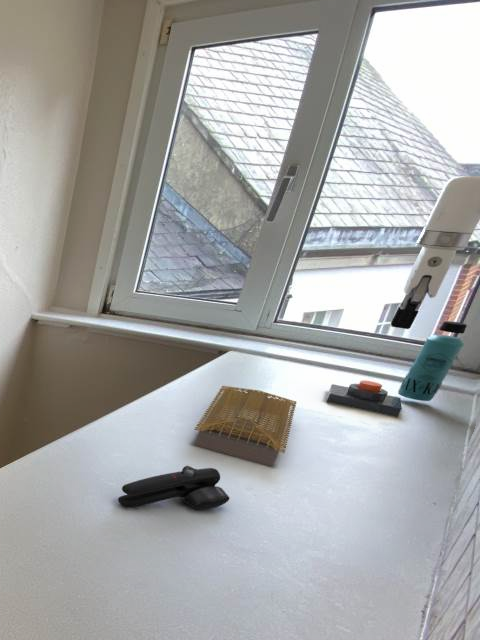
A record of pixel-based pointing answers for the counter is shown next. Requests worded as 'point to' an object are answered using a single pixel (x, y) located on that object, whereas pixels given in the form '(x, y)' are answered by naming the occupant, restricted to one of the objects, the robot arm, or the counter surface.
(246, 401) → the rafter model
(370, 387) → the button
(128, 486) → the can opener
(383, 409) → the switch box
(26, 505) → the counter surface
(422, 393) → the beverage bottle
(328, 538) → the counter surface
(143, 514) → the counter surface
